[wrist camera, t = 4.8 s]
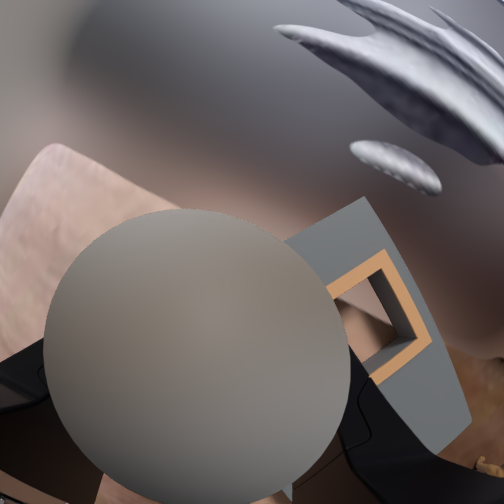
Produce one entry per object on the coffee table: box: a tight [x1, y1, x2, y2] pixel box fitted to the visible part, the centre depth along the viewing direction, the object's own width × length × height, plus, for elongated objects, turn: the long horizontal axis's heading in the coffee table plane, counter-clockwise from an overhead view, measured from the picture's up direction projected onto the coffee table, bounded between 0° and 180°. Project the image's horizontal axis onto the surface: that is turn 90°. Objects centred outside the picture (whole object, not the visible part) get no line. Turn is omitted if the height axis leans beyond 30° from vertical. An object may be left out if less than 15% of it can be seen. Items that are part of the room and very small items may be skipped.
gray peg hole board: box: [282, 196, 472, 502], centre depth 19 cm, size 22×16×3 cm
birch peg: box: [43, 209, 350, 504], centre depth 8 cm, size 4×4×10 cm
